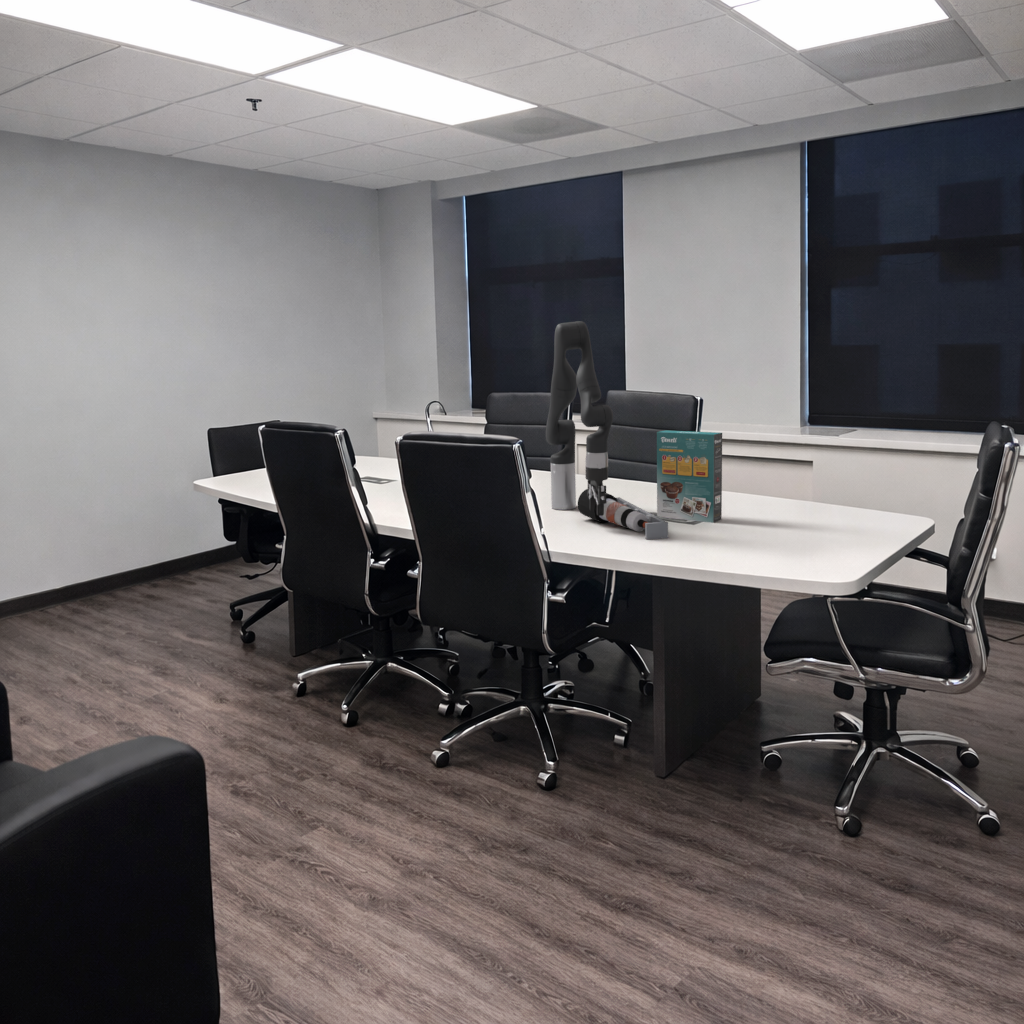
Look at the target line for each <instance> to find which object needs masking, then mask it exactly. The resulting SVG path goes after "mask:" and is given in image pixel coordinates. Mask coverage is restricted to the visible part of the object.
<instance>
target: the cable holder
mask: <svg viewBox="0 0 1024 1024" xmlns="http://www.w3.org/2000/svg"><path fill="white" fill-rule="evenodd" d="M615 498H616V499H617V501H618V503H620V504H622V505H626V506H627V507H629V508H631V509H633V510H635V511H637V512H639V513H642V514H644V515H645V516H646V517H647V522H648V523H645V529H644V531H645V532H644V538H645V539H644V540H657V539H658V540H659V539H668V538H669V522H668V521H666V520H664V519H662V518H661V517H657V515H654V514H653V513H650V512H649V511H646V510H645V509H643V508H641V507H639V506H637V505H635V504H633V503H631V502H630V501H628V500H626V499H623V498H621V497H615Z"/></svg>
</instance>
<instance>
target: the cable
mask: <svg viewBox="0 0 1024 1024" xmlns="http://www.w3.org/2000/svg"><path fill="white" fill-rule="evenodd" d="M587 492H588V488H586V489H584V490H583V491H582V492H581V493H580V495H579V496H578V500H577V509H578V511H579V513H580V514H581V515H582V516H585V517H587V518H590V519H592V520H595V521H596V522H599V523H601V524H607V523H613V524H615V525H617V526H622V527H623V528H628V529H629V530H632V531H634V532H638V533H640V532H643V530H644V531H645V523H648V522H647V517H646V516H645V515H644V514H642V513H639V512H637V511H635V510H633V509H631V508H629V507H627V506H626V505H622V504H620V503H618V501H617V499H616V498H617V497H616V496H614V495H612V494H610V493H607V492H606V501H607V502H606V503H605V504H604V515H603V516H598V515H597V509H596V505H597V503H596V505H595V509H596V510H595V509H594V511H591V510H590V499H589V497H588V496H587ZM601 500H602V499H601Z"/></svg>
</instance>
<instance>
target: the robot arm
mask: <svg viewBox="0 0 1024 1024" xmlns="http://www.w3.org/2000/svg"><path fill="white" fill-rule="evenodd" d="M554 330H555V331H554V341H553V342H554V343H553V345H554V349H553V350H554V351H553V367H552V368H553V369H552V376H551V382H550V383H551V386H550V397H549V409H548V415H547V419H546V420H547V421H546V427H545V441H546V443H547V444H548V445H551V446H559V445H560V446H561V445H562V446H563V445H564V448H563V449H561V450H559V452H558V451H557V452H556V453H553V454H551V456H550V460H549V461H550V488H551V489H550V492H551V493H550V495H551V499H550V500H551V509H553V510H561V511H562V510H563V511H566V510H572V509H576V508H577V497H576V496H577V490H576V489H577V487H576V424H575V422H574V420H572V419H560V418H561V416H562V414H563V412H564V411H566V409H567V408H568V407H569V406H570V405H571V403H572V402H574V400H575V398H576V395H577V391H578V393H579V398H580V420H581V422H582V424H583V425H584V426H585V427H587V428H597V430H596V431H595V432H592V433H590V434H588V435H587V436H586V440H585V441H586V442H585V443H586V445H585V452H586V453H585V479H586V480H587V489H588V492H587V496H588V497H589V499H590V510H591V511H594V509H595V505H596V503H597V505H596V509H597V515H598V516H603V515H604V504H605V503H606V502H607V501H606V493H607V485H604V483H603V482H604V481H607V480H608V479H609V456H608V440H609V435H610V431H611V429H612V428H611V427H612V424H613V420H614V413H613V410H612V408H611V407H610V405H607V404H598V405H597V404H596V405H593V403H597V402H598V401H599V400H600V399H601V398H602V392H601V388H600V385H599V381H598V378H597V374H596V371H595V370H596V369H595V364H594V358H593V357H594V356H593V350H592V344H591V338H590V332H589V331H590V330H589V329H588V325H587V324H586V322H584V321H582V320H581V321H579V320H577V321H569V322H561V323H558V324H557V325H556V327H555V329H554ZM571 350H580V351H581V360H580V363H579V367H578V369H577V371H576V372H575V371H574V369H573V367H572V366H571V365H570V363H569V362H568V359H567V358H566V356H567V355H566V353H567V351H571ZM601 499H602V500H601ZM596 509H595V510H596Z"/></svg>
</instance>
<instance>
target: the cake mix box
mask: <svg viewBox="0 0 1024 1024" xmlns="http://www.w3.org/2000/svg"><path fill="white" fill-rule="evenodd" d="M722 483H723V432H712V431H710V432H708V431H688V430H686V431H684V430H661V431H657V432H656V517H658V518H668V519H676V520H686V521H692V522H693V521H695V522H702V523H703V522H704V523H716V522H719V521H722V513H723V512H722V507H723V506H722V505H723V503H722V499H723V497H722V496H723V491H722V490H723V486H722V485H723V484H722Z"/></svg>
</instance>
